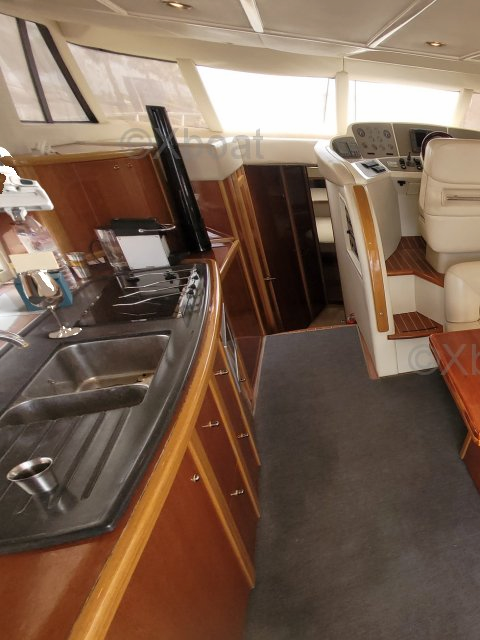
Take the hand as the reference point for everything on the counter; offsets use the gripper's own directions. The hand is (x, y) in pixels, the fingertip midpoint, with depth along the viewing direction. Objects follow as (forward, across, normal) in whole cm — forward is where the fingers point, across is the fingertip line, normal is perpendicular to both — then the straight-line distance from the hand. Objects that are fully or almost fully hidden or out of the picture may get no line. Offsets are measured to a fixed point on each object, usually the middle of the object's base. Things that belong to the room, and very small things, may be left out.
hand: (19, 219), depth 141 cm
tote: (+32, 0, +4) cm, 32 cm away
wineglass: (+56, +4, -19) cm, 59 cm away
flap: (+17, 0, 0) cm, 17 cm away
